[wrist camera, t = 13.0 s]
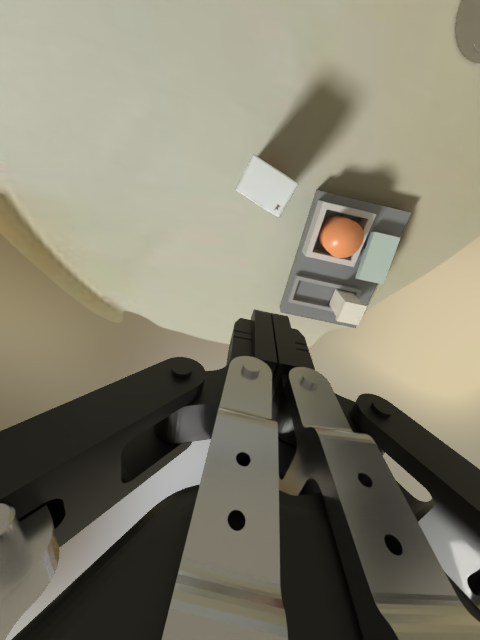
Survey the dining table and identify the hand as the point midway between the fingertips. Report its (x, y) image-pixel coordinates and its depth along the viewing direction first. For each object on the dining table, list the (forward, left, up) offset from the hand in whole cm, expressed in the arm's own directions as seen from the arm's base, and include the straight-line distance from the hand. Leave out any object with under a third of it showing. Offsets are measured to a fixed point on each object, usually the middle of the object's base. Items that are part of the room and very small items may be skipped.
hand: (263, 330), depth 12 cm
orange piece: (-1, +12, -32) cm, 34 cm away
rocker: (+1, +19, -30) cm, 36 cm away
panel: (+4, +15, -35) cm, 38 cm away
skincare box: (-5, 0, -35) cm, 36 cm away
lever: (+9, +17, -32) cm, 38 cm away
